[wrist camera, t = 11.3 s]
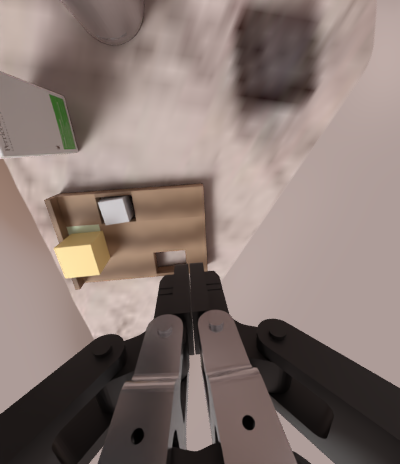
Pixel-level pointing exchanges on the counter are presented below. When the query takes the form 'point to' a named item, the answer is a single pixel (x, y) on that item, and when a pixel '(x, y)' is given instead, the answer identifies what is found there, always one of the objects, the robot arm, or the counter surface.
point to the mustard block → (83, 254)
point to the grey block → (116, 209)
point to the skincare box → (33, 120)
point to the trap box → (137, 228)
